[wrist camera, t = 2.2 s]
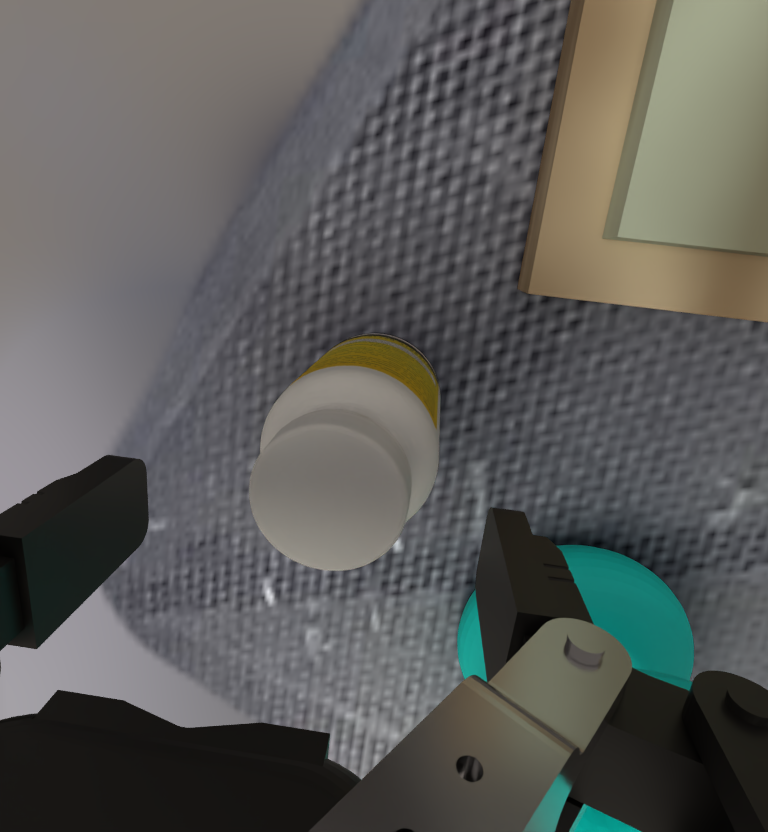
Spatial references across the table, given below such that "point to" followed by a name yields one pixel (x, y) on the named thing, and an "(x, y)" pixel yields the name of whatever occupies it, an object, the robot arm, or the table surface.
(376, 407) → the supplement bottle
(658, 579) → the donuts
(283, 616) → the table surface
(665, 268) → the stacking base
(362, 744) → the table surface
